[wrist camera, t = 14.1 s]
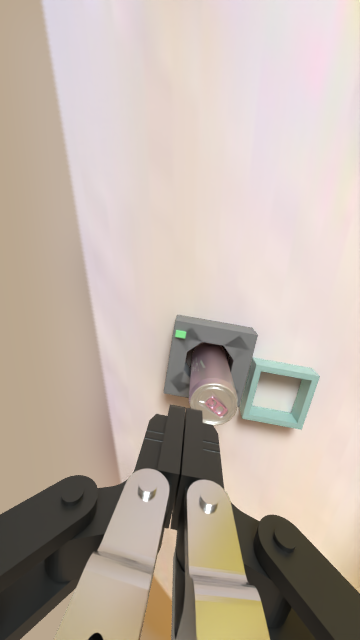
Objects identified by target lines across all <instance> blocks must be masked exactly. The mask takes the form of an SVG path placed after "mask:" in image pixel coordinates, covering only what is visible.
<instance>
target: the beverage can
mask: <svg viewBox="0 0 360 640" xmlns="http://www.w3.org/2000/svg"><path fill="white" fill-rule="evenodd" d="M237 402H238V398H237V393H236V390H235V386H234V382H233V379H232V375H231V372H230V368H229V365H228V361H227V357H226V354H225V351H224V349H223V348H222V347H221V346H220V345H217V344H212V343H206V342H204V343H201V344H199V345H198V346H197V347H196V348H195V349H194V351H193V353H192V362H191V376H190V390H189V404H190V408H191V409H196V410H202V414H203V423H207V424H212V425H221V424H224V423H226V422H228V421H229V420H230V419H231V418H232V417H233V416H234V415H235V413H236V410H237Z"/></svg>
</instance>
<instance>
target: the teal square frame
mask: <svg viewBox="0 0 360 640" xmlns="http://www.w3.org/2000/svg"><path fill="white" fill-rule="evenodd" d="M261 371H262V372H268V373H273V374H279V375H284V376H290V377H295V378H301V379H302V381H301V384H300V387H299V390H298V393H297V396H296V399H295V402H294V405H293V409H292V412H291V413H288V412H283V411H278V410H272V409H267V408H261V407H256V406H252V403H253V399H254V395H255V392H256V388H257V384H258V381H259V377H260V373H261ZM319 377H320V376H319V375H318V374H317V373H316V372H315V371H314V370H313V369H312V368H308V367H303V366H297V365H291V364H286V363H280V362H275V361H269V360H264V359H258V358H252V362H251V365H250V369H249V373H248V377H247V381H246V385H245V389H244V392H243V396H242V400H241V404H240V412H241V416H242V419H248V420H253V421H258V422H264V423H269V424H274V425H279V426H285V427H290V428H295V429H301V430H302V427H303V424H304V421H305V418H306V415H307V412H308V409H309V407H310V404H311V401H312V398H313V395H314V392H315V389H316V386H317V383H318V380H319Z"/></svg>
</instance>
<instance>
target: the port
mask: <svg viewBox="0 0 360 640" xmlns="http://www.w3.org/2000/svg"><path fill="white" fill-rule="evenodd" d="M257 336H258V335H257V333H256V332H255V331H254V329H253V328H250V327H245V326H239V325H233V324H228V323H222V322H216V321H211V320H205V319H199V318H194V317H188V316H182V315H177V317H176V320H175V325H174V332H173V338H172V344H171V350H170V356H169V362H168V369H167V375H166V381H165V387H164V393H166V394H171V395H176V396H182V397H187V398H189V390H190V376H191V368H190V366H189V365H188V364H187V362H186V355H187V352H188V351H189V350H191V349H192V348H194V347H195V346H197V345H198V344H200V343H202V342H206V343H212V344H217V345H223V346H224V347H225V349H226V350H227V351H228V353H229V354H230V356H229V360H228V365H229V368H230V372H231V375H232V379H233V382H234V386H235V390H236V393H237V398H238V402H237V407H239V406H240V402H241V398H242V394H243V391H244V387H245V383H246V379H247V375H248V371H249V367H250V363H251V360H252V356H253V352H254V348H255V344H256V340H257Z"/></svg>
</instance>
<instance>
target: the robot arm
mask: <svg viewBox="0 0 360 640" xmlns="http://www.w3.org/2000/svg"><path fill="white" fill-rule="evenodd" d="M172 509H173V510H172ZM171 514H172V520H171V529H175V530H177V539H176V547H175V552H174V557H173V592H172V635H171V636H172V637H171V638H172V639H171V640H360V594H359V593H358V591H357V590H356V589H355V588H354V587H353V586H352V585H351V584H350V583H349V582H348V581H347V580H346V579H345V578H344V577H343V576H342V575H341V574H340V573H339V571H338V570H337V569H336V568H335V567H334V566H333V565H332V564H331V563H330V562H329V561H328V560H327V559H326V558H325V557H324V556H323V555H322V554H321V553H320V552H319V550H318V549H317V548H316V547H315V546H314V545H313V544H312V543H311V542H310V541H309V540H308V539H307V538H306V537H305V536H304V535H303V534H302V533H301V532H300V531H299V529H298V528H297V527H296V526H294V525H293V524H292V523H291V522H290V521H288V520H286V519H285V518H283V517H280V516H277V515H267V516H265V517H263V518H262V519H261V521H258V520H256V519H254V518H252V517H250V516H248V515H247V514H245V513H243V512H241V511H240V510H239V509H237V508H236V507H235V506H234V505H233V504H232V503H231V501H230V498H229V496H228V494H227V493H226V491H225V490H224V485H223V475H222V466H221V457H220V448H219V439H218V433H217V431H216V430H215V428H214V426H213V425H212V424H207V423H203V414H202V410H196V409H191V408H186V412H185V407H180V406H175V405H170V407H169V412H168V416H165V415H159V414H156V415H155V416H154V417H153V418H152V419H151V420H150V421H149V424H148V428H147V431H146V434H145V438H144V441H143V444H142V447H141V451H140V454H139V457H138V460H137V464H136V467H135V470H134V472H133V474H132V475H131V476H130V477H129V478H128V479H127V480H126V481H125V482H123V483H121V484H119V485H116V486H112V487H104V488H97V485H96V484H95V482H94V481H93V480H92V479H90V478H89V477H86V476H81V475H76V476H70V477H67V478H65V479H63V480H61V481H59V482H57V483H56V484H54V485H52V486H50V487H49V488H47V489H45V490H43V491H41V492H40V493H38V494H36V495H34V496H33V497H31V498H29V499H27V500H25V501H24V502H22V503H20V504H18V505H17V506H15V507H13V508H11V509H9V510H8V511H6V512H4V513H2V514H1V515H0V640H20V639H21V638H22V637H23V636H24V635H25V634H26V633H28V631H30V630H31V629H32V628H33V627H34V626H35V625H36V624H37V623H38V622H39V621H41V620H42V619H43V618H44V617H45V616H46V615H47V614H48V613H49V612H50V611H51V610H52V609H54V608H55V607H56V606H57V605H58V604H59V603H60V602H61V601H62V600H63V599H64V598H66V597H67V596H68V595H69V594H70V593H71V592H72V591H73V590H74V589H75V588H76V590H75V592H74V594H73V596H72V598H71V601H70V603H69V605H68V608H67V610H66V612H65V615H64V617H63V619H62V622H61V624H60V626H59V629H58V631H57V633H56V636H55V638H54V640H140V637H141V631H142V627H143V622H144V617H145V612H146V607H147V602H148V597H149V592H150V588H151V583H152V578H153V573H154V568H155V564H156V559H157V554H158V552H159V551H160V548H161V544H162V539H163V533H164V528H169V524H170V519H171Z"/></svg>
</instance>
